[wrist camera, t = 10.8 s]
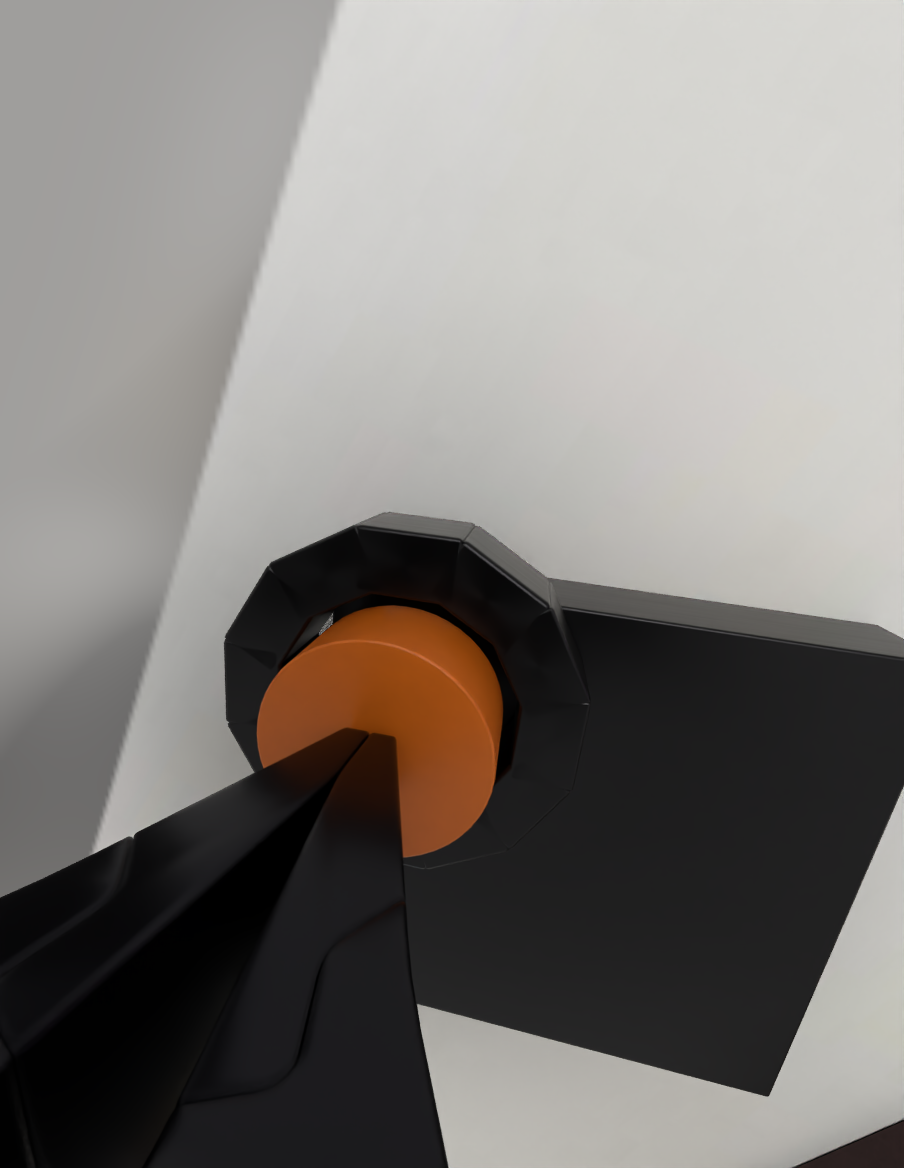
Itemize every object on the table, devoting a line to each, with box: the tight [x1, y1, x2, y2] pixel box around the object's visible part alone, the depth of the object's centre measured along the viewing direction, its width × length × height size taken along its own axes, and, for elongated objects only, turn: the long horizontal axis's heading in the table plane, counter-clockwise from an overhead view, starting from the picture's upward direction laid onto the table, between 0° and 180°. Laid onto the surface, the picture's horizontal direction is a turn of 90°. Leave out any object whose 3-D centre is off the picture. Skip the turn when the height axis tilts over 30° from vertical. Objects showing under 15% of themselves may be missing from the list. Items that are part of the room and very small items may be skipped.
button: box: [257, 605, 503, 857], centre depth 9 cm, size 4×4×2 cm
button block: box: [224, 512, 904, 1096], centre depth 12 cm, size 14×13×4 cm
